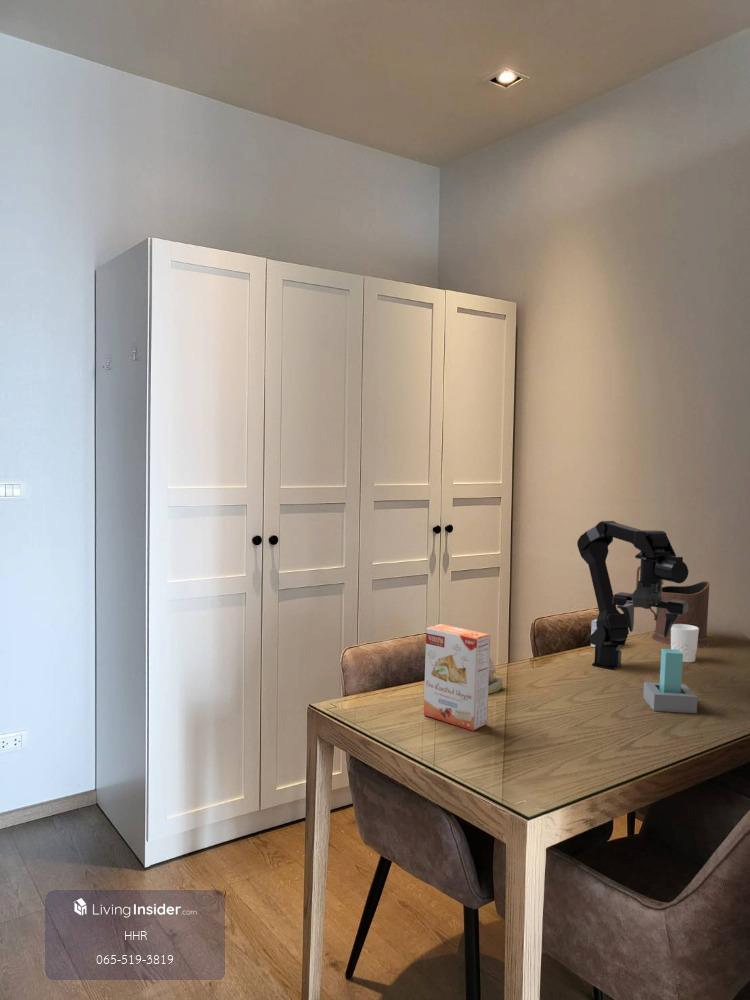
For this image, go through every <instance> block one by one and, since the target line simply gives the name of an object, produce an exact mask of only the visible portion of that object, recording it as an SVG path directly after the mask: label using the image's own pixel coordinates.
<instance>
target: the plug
mask: <svg viewBox="0 0 750 1000" xmlns="http://www.w3.org/2000/svg"><path fill="white" fill-rule="evenodd" d="M660 652H661V653H660V671H659V672H660V673H659V683H660V687H659V691H660V692H664V693H681V684H682V683H683V682H682V679H683V677H682V676H683V663H684V662H683V653H681V652H680V651H679V650H677V649H671V648H661V651H660Z"/></svg>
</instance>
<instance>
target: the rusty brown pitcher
mask: <svg viewBox="0 0 750 1000" xmlns="http://www.w3.org/2000/svg"><path fill="white" fill-rule="evenodd" d="M640 566H641V565H639V566H638V567H637V569H636V579H635V582H636V583H635V590H636V589H637V587H638V581H640ZM662 596H663V598H662V600H661V601H666V602H668V601H671V600H673V599H675V600H683V601H687V603H688V605H689V607H688V612H686V613H684V614H682V615H680V616H678V617H677V618H676V620H675V621H674V623H673V624H686V625H692V626H696V627H698V628H699V633H698V643H697V648H700V649H705V648H704V647H707V646H709V645H710V646H711V643H710V641H709V639H708V635H707V633H708V616H709V615H708V614H709V598H710V582H708V581H705V580H704V581H700V582H698V583H694V584H690V585H679V586H677V585H676V586H675V585H664V586H662ZM649 610H650V612H652V614H653V617H654V618H653V619H654V621H655V629H654V633H653V634H652V636H651V637H652V639H653V640H655V641H657V642H660V643H662V644H666V645H669V646H668V647H671V629H670V631H669V634H668V636H667V637H666V638H665V637H664V631H665V624H666V613H668V612H669V611H668V610H667V609H666V608H659V607H656V612H655V611H654V609H653V608H652V607H651V608H650V609H649ZM662 644H661V645H662ZM666 645H665V646H666ZM710 646H709V647H710ZM707 648H708V647H707Z"/></svg>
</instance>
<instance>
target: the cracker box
mask: <svg viewBox="0 0 750 1000" xmlns="http://www.w3.org/2000/svg"><path fill="white" fill-rule="evenodd" d="M425 629H426V632H425V660H424V665H425V667H424V687H423V689H424V692H423V693H424V695H423V716H425V717H429V718H432V719H435V720H438V721H442V722H444V723H448V724H450V725H453V726H457V727H461V728H463V729H466V730H469V731H473V732H474V731H476V730H478V729H481V728H482V727H484V726H487V724H488V711H489V710H488V708H489V707H488V706H489V694H488V687H489V660H490V658H491V657H490V654H491V634H489V633H484V632H479V631H475V630H470V629H466V628H461V627H457V626H452V625H449V624H444V623H439V624H436V625H431V626H428V627H426V628H425Z"/></svg>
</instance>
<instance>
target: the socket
mask: <svg viewBox="0 0 750 1000" xmlns="http://www.w3.org/2000/svg"><path fill="white" fill-rule="evenodd" d="M659 687H660V682H653V681H652V682H649V681H644V682H643V695H642V696H643V697H642V698H643V699H644V700H645V702H646V703H647V705H648V706H649V707H650V708H651V709H652V711H654V712H668V713H670V712H671V713H683V714H684V713H685V714H689V713H690V714H698V696H697V695H696V694H695V692H693V690H691V689H690V688H689V686H687V684H684V683H681V693H664V692H660V691H659Z"/></svg>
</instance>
